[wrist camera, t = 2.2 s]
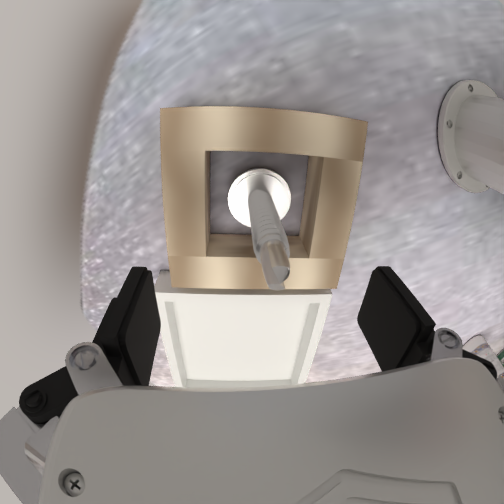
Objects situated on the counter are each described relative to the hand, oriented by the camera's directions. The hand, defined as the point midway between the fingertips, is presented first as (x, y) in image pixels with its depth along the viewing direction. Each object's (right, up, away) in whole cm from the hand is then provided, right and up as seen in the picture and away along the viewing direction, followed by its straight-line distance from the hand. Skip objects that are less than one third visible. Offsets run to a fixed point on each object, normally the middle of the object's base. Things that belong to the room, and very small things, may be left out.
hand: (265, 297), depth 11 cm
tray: (-2, -8, +20) cm, 22 cm away
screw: (0, +7, +12) cm, 14 cm away
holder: (0, +7, +12) cm, 14 cm away
